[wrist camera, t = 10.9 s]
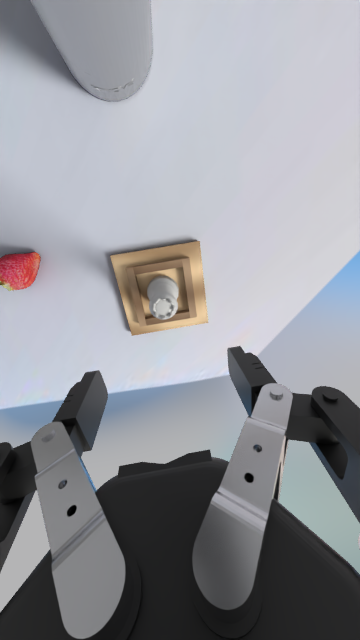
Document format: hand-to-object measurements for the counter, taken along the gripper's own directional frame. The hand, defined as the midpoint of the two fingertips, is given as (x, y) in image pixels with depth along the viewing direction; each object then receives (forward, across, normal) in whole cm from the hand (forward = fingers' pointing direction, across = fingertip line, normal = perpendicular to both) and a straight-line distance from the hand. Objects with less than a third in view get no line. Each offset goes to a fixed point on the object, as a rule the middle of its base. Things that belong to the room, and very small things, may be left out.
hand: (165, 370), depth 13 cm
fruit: (+20, +18, -6) cm, 27 cm away
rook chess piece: (+19, 0, 0) cm, 19 cm away
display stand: (+20, 0, 0) cm, 20 cm away
